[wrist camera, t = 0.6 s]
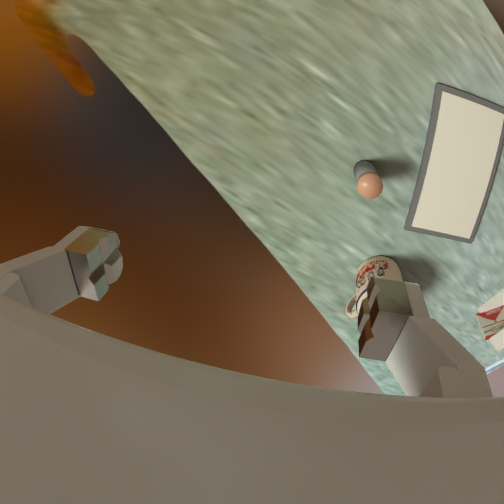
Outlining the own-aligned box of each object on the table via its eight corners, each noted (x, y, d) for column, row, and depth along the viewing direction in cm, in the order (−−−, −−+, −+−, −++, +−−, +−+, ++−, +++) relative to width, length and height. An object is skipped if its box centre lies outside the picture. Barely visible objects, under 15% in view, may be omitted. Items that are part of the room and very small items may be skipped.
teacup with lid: (384, 244, 53) (394, 285, 43) (409, 277, 55) (421, 320, 45) (332, 279, 59) (330, 322, 49) (359, 308, 61) (361, 352, 51)
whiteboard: (435, 82, 36) (438, 83, 36) (506, 109, 34) (510, 110, 34) (403, 227, 50) (405, 230, 49) (469, 241, 48) (471, 244, 47)
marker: (355, 157, 46) (360, 172, 40) (376, 162, 46) (385, 177, 39) (351, 178, 48) (355, 196, 42) (372, 182, 48) (379, 200, 41)
